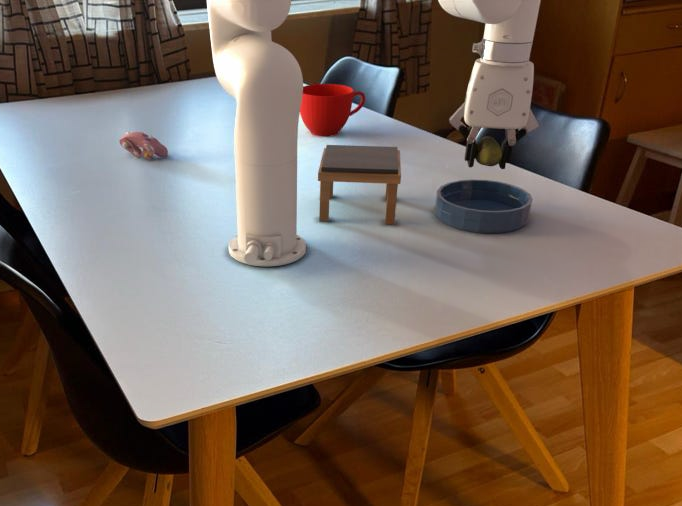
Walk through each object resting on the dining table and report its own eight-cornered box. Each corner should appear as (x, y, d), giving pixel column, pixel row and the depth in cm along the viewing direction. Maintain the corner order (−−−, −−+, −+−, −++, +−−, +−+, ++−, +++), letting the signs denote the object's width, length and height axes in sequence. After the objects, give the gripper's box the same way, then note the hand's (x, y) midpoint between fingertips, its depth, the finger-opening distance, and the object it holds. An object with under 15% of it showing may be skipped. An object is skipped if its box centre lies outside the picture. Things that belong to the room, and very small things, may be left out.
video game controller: (125, 161, 162) (112, 137, 156) (135, 147, 164) (123, 123, 158) (161, 168, 158) (150, 143, 152) (171, 153, 160) (160, 128, 154)
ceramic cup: (375, 135, 172) (378, 91, 167) (311, 143, 167) (312, 98, 162) (350, 121, 182) (352, 80, 177) (289, 129, 177) (289, 86, 172)
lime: (473, 160, 126) (478, 131, 124) (501, 164, 125) (507, 135, 122) (469, 168, 123) (474, 138, 120) (498, 171, 121) (504, 141, 119)
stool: (396, 225, 126) (401, 170, 120) (316, 222, 127) (318, 167, 122) (395, 197, 137) (400, 146, 132) (322, 194, 139) (324, 143, 134)
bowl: (535, 236, 121) (539, 214, 119) (437, 232, 123) (440, 210, 121) (520, 201, 135) (524, 181, 133) (432, 198, 137) (434, 177, 134)
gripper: (453, 54, 112) (437, 170, 122) (565, 58, 110) (540, 175, 120) (449, 46, 118) (434, 156, 128) (556, 50, 116) (532, 162, 126)
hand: (485, 164), depth 124 cm, fingers closed on lime, 4 cm apart
